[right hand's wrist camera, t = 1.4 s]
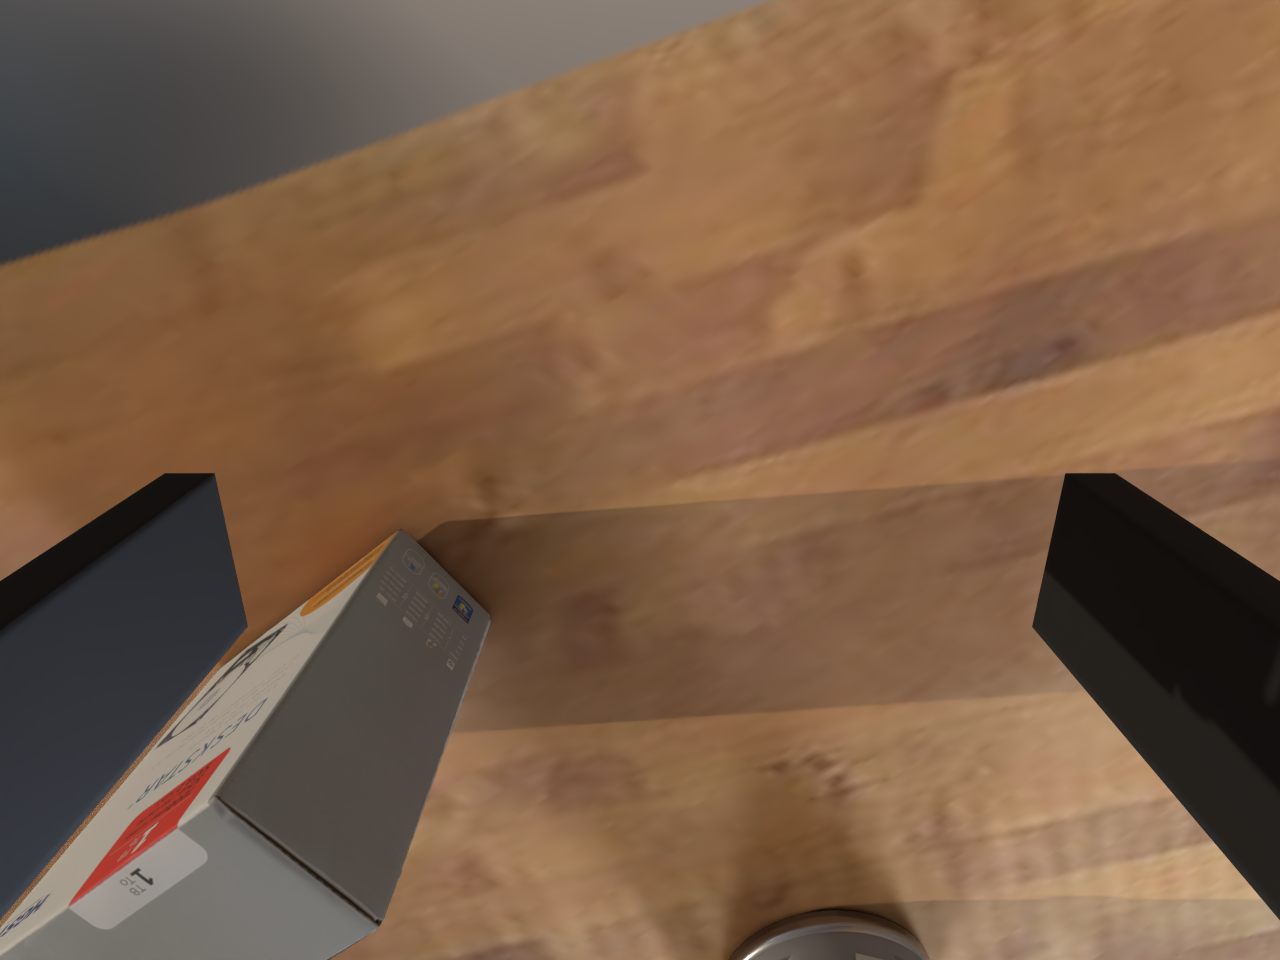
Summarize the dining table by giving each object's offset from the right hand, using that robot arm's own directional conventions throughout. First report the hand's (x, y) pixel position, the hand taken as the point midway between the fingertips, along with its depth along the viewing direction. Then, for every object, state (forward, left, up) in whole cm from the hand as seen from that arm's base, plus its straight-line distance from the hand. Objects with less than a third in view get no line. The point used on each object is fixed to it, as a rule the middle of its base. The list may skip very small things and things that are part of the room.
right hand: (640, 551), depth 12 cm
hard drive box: (-20, +17, -28) cm, 38 cm away
